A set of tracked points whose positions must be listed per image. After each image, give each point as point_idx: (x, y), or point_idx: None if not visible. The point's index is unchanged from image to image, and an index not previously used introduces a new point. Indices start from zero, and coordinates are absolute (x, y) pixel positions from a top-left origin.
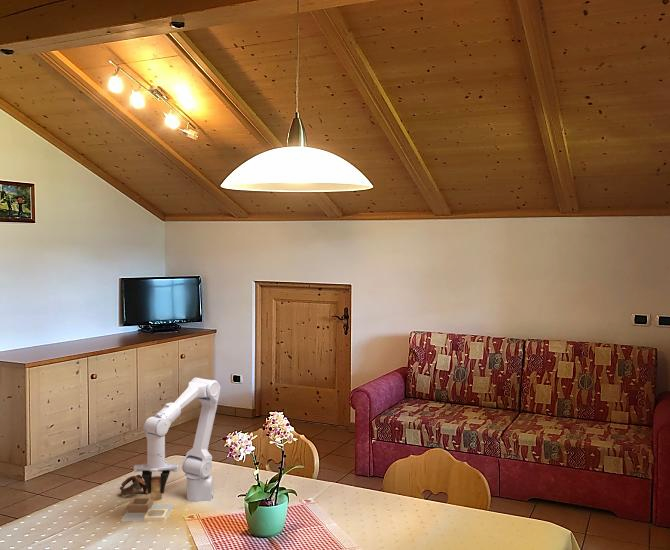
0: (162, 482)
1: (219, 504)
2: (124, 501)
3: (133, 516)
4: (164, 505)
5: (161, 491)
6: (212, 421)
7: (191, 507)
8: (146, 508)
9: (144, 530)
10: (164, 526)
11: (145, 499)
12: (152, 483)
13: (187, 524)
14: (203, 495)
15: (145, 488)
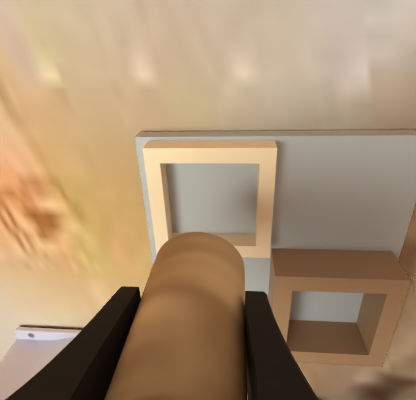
0: (55, 389)
1: None
2: (408, 371)
3: (351, 202)
4: None
5: (124, 298)
6: None
7: (85, 306)
8: (283, 263)
9: (250, 31)
10: (138, 98)
11: (306, 347)
12: (208, 385)
13: (17, 126)
14: (30, 367)
15: None
